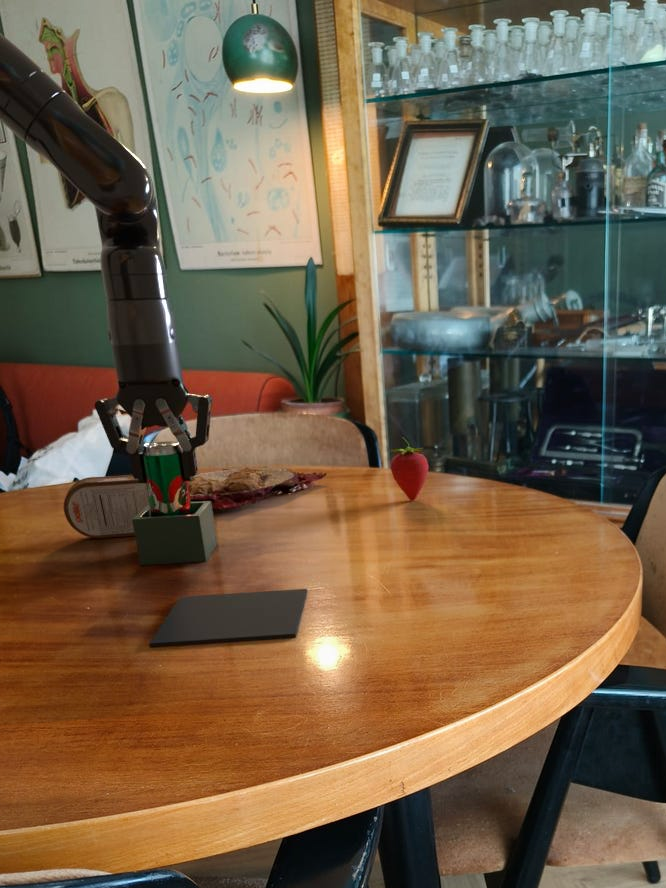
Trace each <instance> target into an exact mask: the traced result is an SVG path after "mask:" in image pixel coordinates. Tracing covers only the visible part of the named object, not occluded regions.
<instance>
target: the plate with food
mask: <svg viewBox="0 0 666 888" xmlns="http://www.w3.org/2000/svg"><path fill="white" fill-rule="evenodd" d="M326 476H327V472H325V473H322V472H319V473H318V474H317V473H316V472H312V473H304V472H299V471H298V472H296V471H292V469H287V468H282V467H278V468H275V467H268V466H262V467H261V466H258V467H257V466H256V467H255V466H254V467H251V466H246V467H244V468H238V467H237V468H232V469H229V468H222V469H221V470H215V471H207V472H198V473H197V474H196V475H195V476H194V479H193V480H192V481H188V485H189V492H190V499H191V500H195V501H196V500H201V501H205V500H208V499H210V500H211V499H212V500H213V501H214V502H211V504H212V510H213V509H218V510H219V511H222V512H225V510H227V509H231V508H235V507H243V506H244V505H246V504H249V503H251V504H256V503H260V500H261V499H264V498H267V497H272V496H274V495H275V494H276V495H281V494H283V492H282V491H281V490H275V491H272V489H273V488H275V487H277V486H278V485H281V484H284V483H286V482H287V483H288V482H291V484H290V485H291V486H293V487H291V488H290V489H289V490H288V491H289V492H290V493H287V495H292V493H293V495H295V492H296V491H302V490H305V489H308V488H312V487H314V485H315V482H316V481H317V482H318V481H320V480H322V479H324V477H326ZM264 500H265V499H264Z"/></svg>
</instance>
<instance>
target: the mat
mask: <svg viewBox="0 0 666 888" xmlns="http://www.w3.org/2000/svg"><path fill="white" fill-rule="evenodd" d="M307 595H308V589H307V588H298V589H282V590H279V589H278V590H265V591H264V590H263V591H250V592H249V591H248V592H235V593H233V592H232V593H219V594H217V593H216V594H202V595H187V596H179V598H178V599H177V601H176V602H175V603H174V605H173V607H172V609H171V610H170V611H169V613H168V614H167V616H166V617H165V619H164V620H163V622H162V623H161V624H160V626H159V627H158V629H157V631H156V633H155V634H154V635H153V637H152V638H151V640H150V641H149V643H148V645H149V648H157V647H158V648H160V647H171V646H173V647H174V646H188V645H200V644H202V645H203V644H216V643H233V642H245V641H246V642H247V641H262V640H274V639H275V640H276V639H290V638H291V639H293V638H296V637H297V633H298V631H299V626H300V622H301V618H302V614H303V612H304V611H303V610H304V607H305V602H306V598H307Z"/></svg>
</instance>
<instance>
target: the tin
mask: <svg viewBox="0 0 666 888" xmlns="http://www.w3.org/2000/svg"><path fill="white" fill-rule="evenodd" d="M148 504H149V500H148V493H147V487H146V483H139V482H138V479H134V477H133V475H132V474H125V475H109V476H90V477H85V478H82V479H80V480H77V481H76V482H75V483H73V484H72V485H71V486H70V488H69V489H68V491H67V493H66V496H65V497H64V501H63V513H64V517H65V519H66V520H67V522H68V524H69V525H70V527H72V529H73V530H75V532H77V533H79V534H81V535H82V536H85V537H87V538H92V539H110V538H120V537H135V533H134V528H133V523H132V519H133V518H134V517H135V516H136V515H137V514H138V513H139V512H140V511H142V510H143V509H144V508H145V507H146V506H147V505H148Z"/></svg>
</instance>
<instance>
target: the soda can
mask: <svg viewBox="0 0 666 888" xmlns="http://www.w3.org/2000/svg"><path fill="white" fill-rule="evenodd" d="M142 448H143V450H142V451H143V452H142V454H141V457H142V463H143V469H144V475H145V481H146V487H147V493H148V500H149V506H150V512H151V517H158V516H176V515H193V513H192V506H191V502H192V499H190V492H189V485H188V481H185V477H184V471H183V464H182V457H181V452H182V451H183V450H182V448H181V446H180V444H179V442H178V441H168V440H167V441H155V442H147V443H145V444H142Z"/></svg>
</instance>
